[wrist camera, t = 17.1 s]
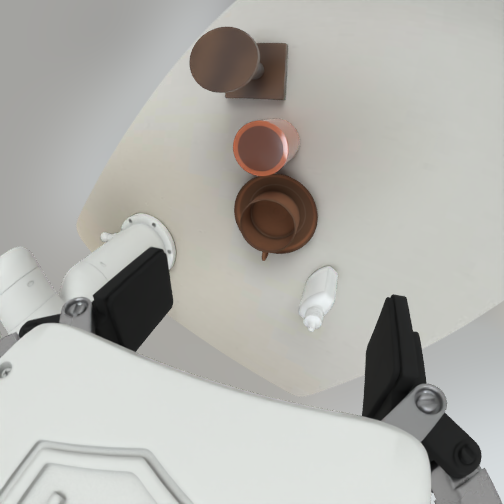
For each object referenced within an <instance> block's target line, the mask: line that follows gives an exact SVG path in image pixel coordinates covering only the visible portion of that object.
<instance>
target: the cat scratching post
mask: <svg viewBox="0 0 504 504" xmlns="http://www.w3.org/2000/svg"><path fill="white" fill-rule="evenodd" d="M287 52H288V45H287V44H286V43H256V42H255V41H254V39H253V38H252V37H251V36H250V35H248V34H247V33H246V32H244V31H242V30H240V29H237V28H233V27H220V28H216V29H213V30H211V31H209V32H207V33H206V34H204V35H203V36H202V37H201V38H200V39H199V40H198V41H197V42H196V44H195V45H194V47H193V49H192V52H191V55H190V70H191V73H192V75H193V77H194V79H195V81H196V82H197V83H198V84H199V85H200V86H202V87H203V88H205V89H207V90H209V91H212V92H220V93H226V94H225V98H253V99H274V100H285V93H286V74H287Z"/></svg>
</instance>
